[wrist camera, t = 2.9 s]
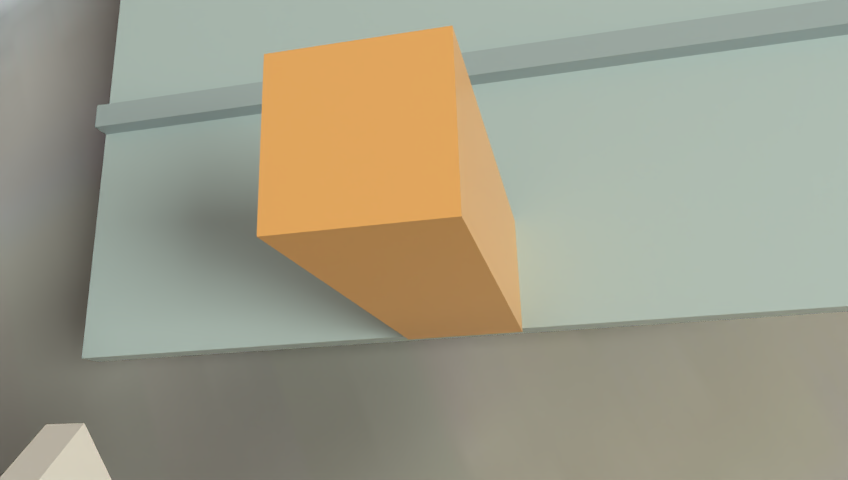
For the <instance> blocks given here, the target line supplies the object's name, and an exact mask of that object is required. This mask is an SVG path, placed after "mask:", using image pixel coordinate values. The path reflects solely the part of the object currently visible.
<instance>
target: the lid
mask: <svg viewBox="0 0 848 480" xmlns="http://www.w3.org/2000/svg"><path fill="white" fill-rule="evenodd" d="M95 127H96V128H97V129H99V130H100V131H102V132H103V133H104V134H106V139H105V149H104V158H103V167H102V176H101V186H100V195H99V204H98V213H97V222H96V232H95V241H94V250H93V259H92V268H91V278H90V287H89V296H88V305H87V314H86V324H85V333H84V342H83V351H82V359H87V360H92V361H97V362H101V361H116V360H131V359H146V358H161V357H176V356H191V355H206V354H221V353H236V352H251V351H266V350H280V349H295V348H310V347H325V346H340V345H355V344H370V343H385V342H400V341H415V340H430V339H445V338H460V337H474V336H489V335H504V334H519V333H534V332H549V331H564V330H579V329H594V328H609V327H624V326H639V325H654V324H668V323H683V322H698V321H713V320H728V319H743V318H758V317H773V316H788V315H803V314H818V313H833V312H847V311H848V0H121V1H120V11H119V20H118V29H117V38H116V47H115V57H114V66H113V75H112V84H111V93H110V103H109V104H103V105H97V113H96V121H95Z"/></svg>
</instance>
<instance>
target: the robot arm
mask: <svg viewBox="0 0 848 480" xmlns="http://www.w3.org/2000/svg"><path fill="white" fill-rule="evenodd" d="M0 480H111V478H110V476H109V474H108V472H107V469H106V467H105V465H104V463H103V461H102V459H101V457H100V455H99V453H98V451H97V449H96V446H95V444H94V442H93V440H92V438H91V436H90V434H89V432H88V430H87V428H86V426H85V423H72V424H46V425H45V426H44V427H43V428H42V429H41V431H40V432H39V433H38V434H37V435H36V436H35V438H34V439H33V440H32V441H31V442H30V443H29V445H28V446H27V447H26V448H25V449H24V450H23V451H22V453H21V454H20V455H19V456H18V457H17V458H16V460H15V461H14V462H13V463H12V464H11V465H10V467H9V468H8V469H7V470H6V471H5V472H4V473H3V475H2V476H1V477H0Z"/></svg>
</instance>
